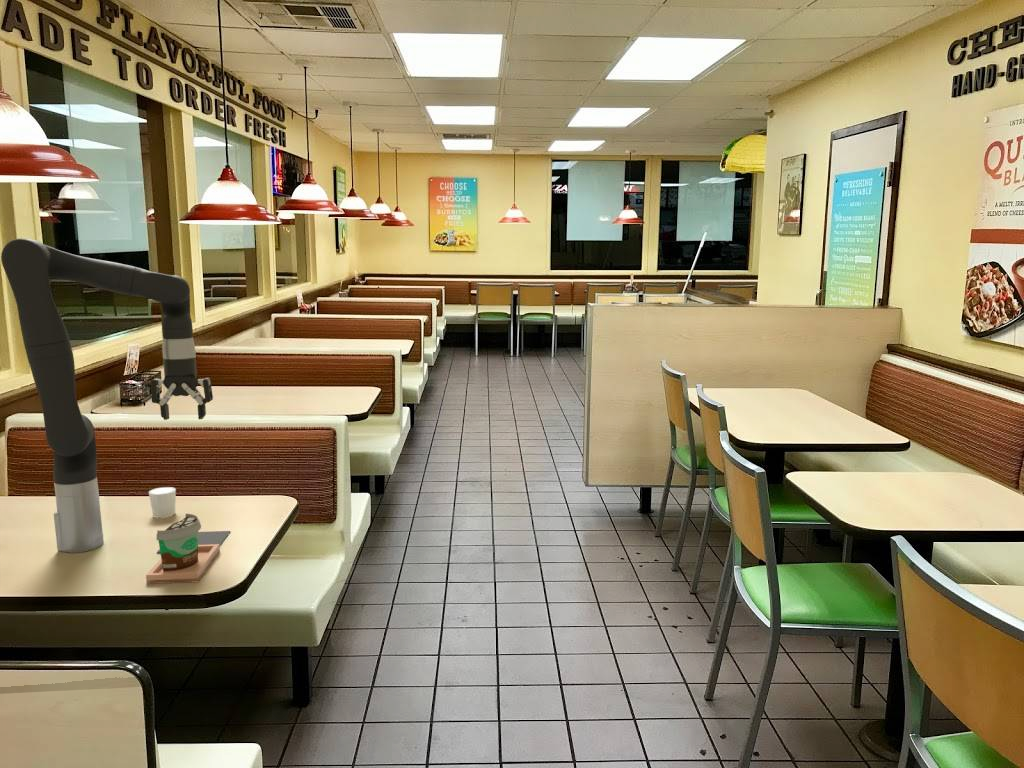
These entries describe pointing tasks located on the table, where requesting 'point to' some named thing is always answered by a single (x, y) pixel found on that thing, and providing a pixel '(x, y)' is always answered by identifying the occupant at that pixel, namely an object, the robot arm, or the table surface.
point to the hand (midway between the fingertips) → (184, 418)
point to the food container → (179, 544)
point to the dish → (188, 574)
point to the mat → (211, 538)
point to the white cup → (163, 501)
